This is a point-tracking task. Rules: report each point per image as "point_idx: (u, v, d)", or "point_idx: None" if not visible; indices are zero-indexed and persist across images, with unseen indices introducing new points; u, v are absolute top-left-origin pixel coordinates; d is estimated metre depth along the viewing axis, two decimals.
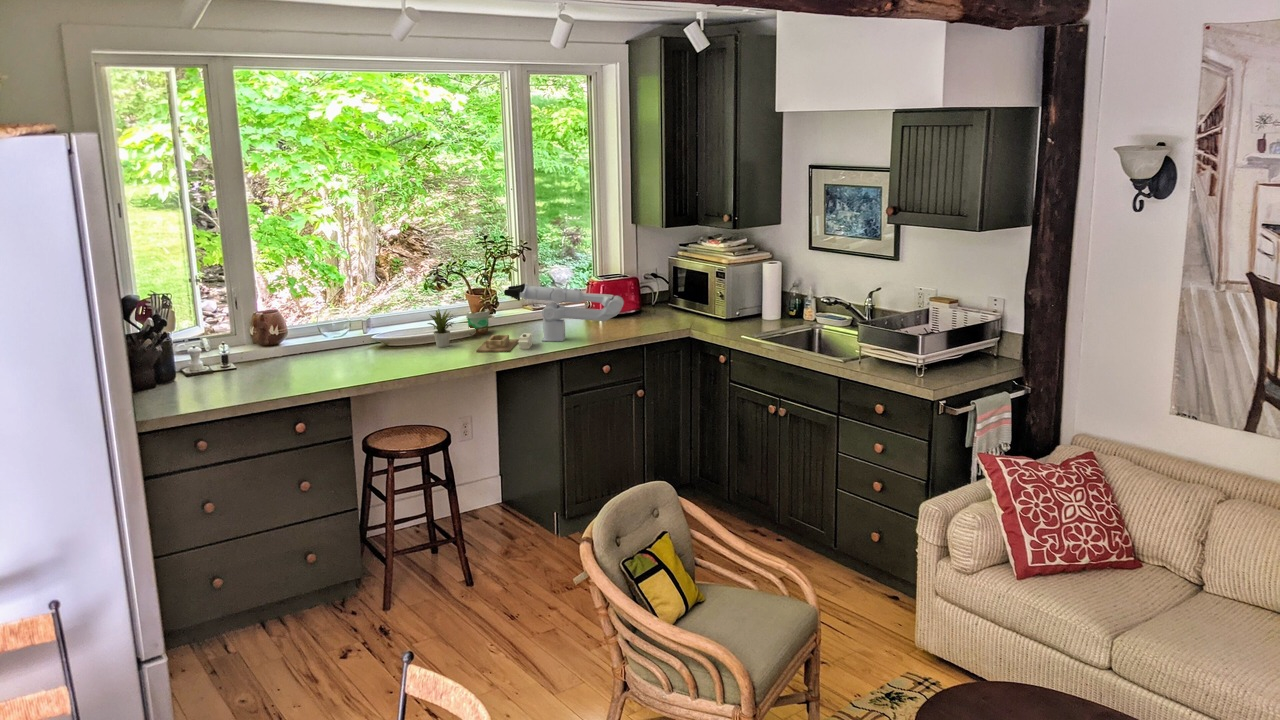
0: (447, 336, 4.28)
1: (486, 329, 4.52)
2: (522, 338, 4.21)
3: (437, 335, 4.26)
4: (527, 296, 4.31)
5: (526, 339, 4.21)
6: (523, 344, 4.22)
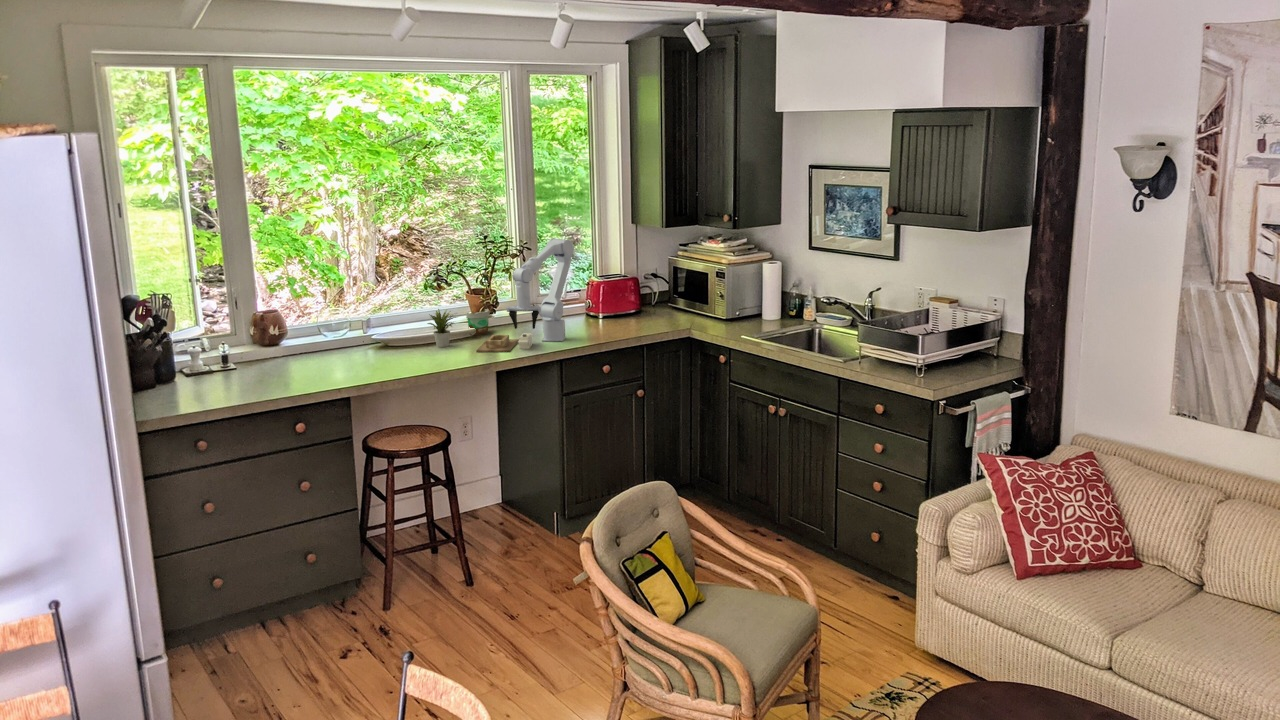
0: (447, 336, 4.28)
1: (486, 329, 4.52)
2: (522, 338, 4.21)
3: (437, 335, 4.26)
4: None
5: (526, 339, 4.21)
6: (523, 344, 4.22)
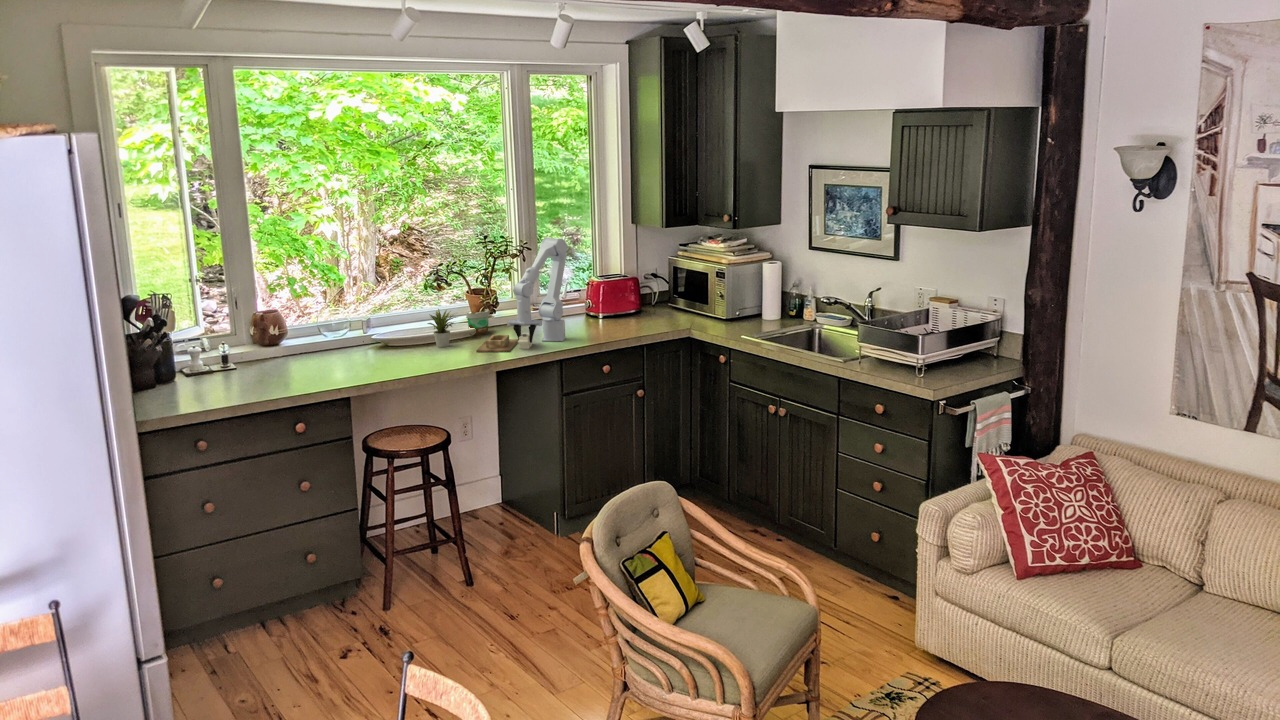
0: (447, 336, 4.28)
1: (486, 329, 4.52)
2: (522, 338, 4.21)
3: (437, 335, 4.26)
4: None
5: (526, 339, 4.21)
6: (523, 344, 4.22)
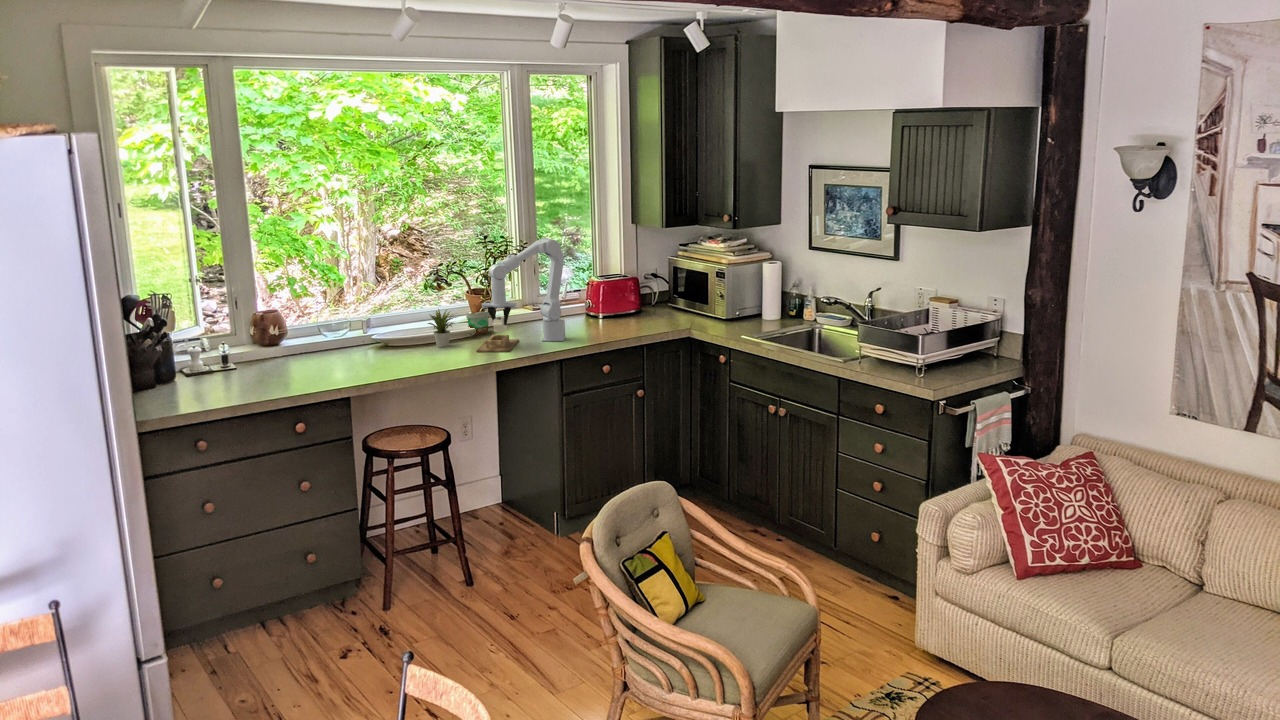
0: (447, 336, 4.28)
1: (486, 329, 4.52)
2: (496, 321, 4.20)
3: (437, 335, 4.26)
4: None
5: (500, 322, 4.20)
6: (497, 327, 4.21)
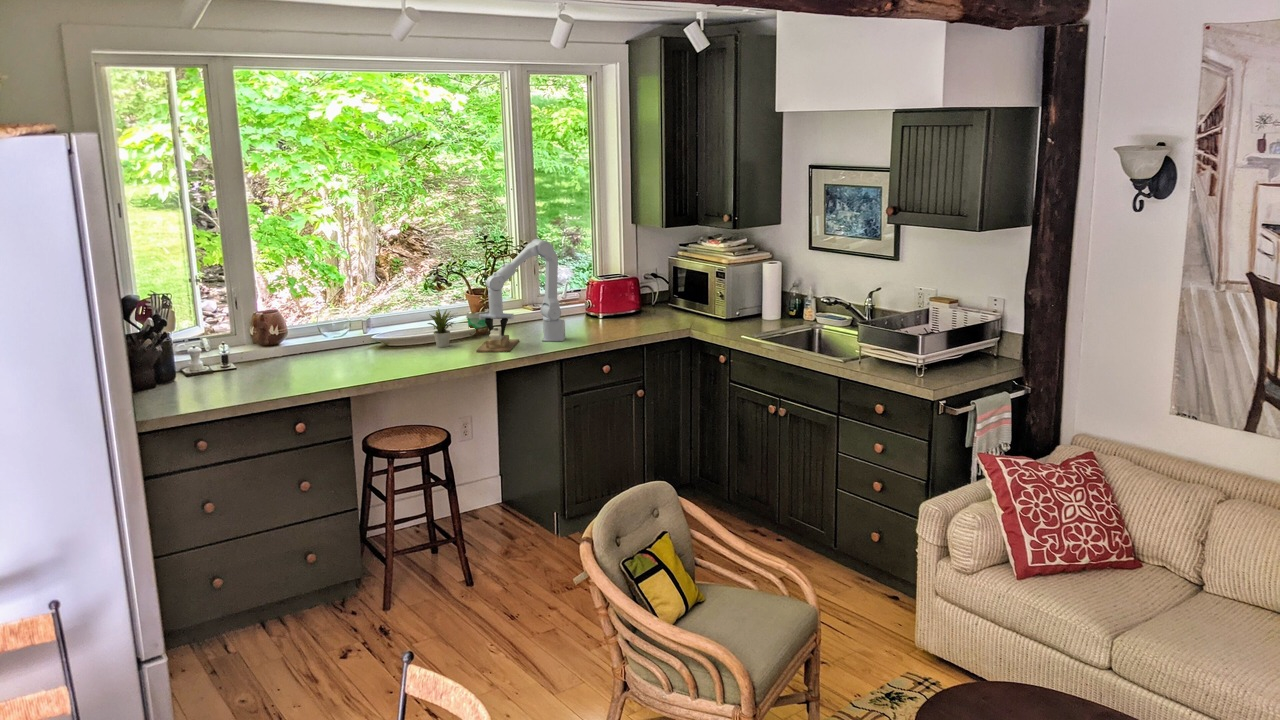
0: (447, 336, 4.28)
1: (486, 329, 4.52)
2: (493, 332, 4.21)
3: (437, 335, 4.26)
4: None
5: (497, 333, 4.21)
6: (494, 338, 4.22)
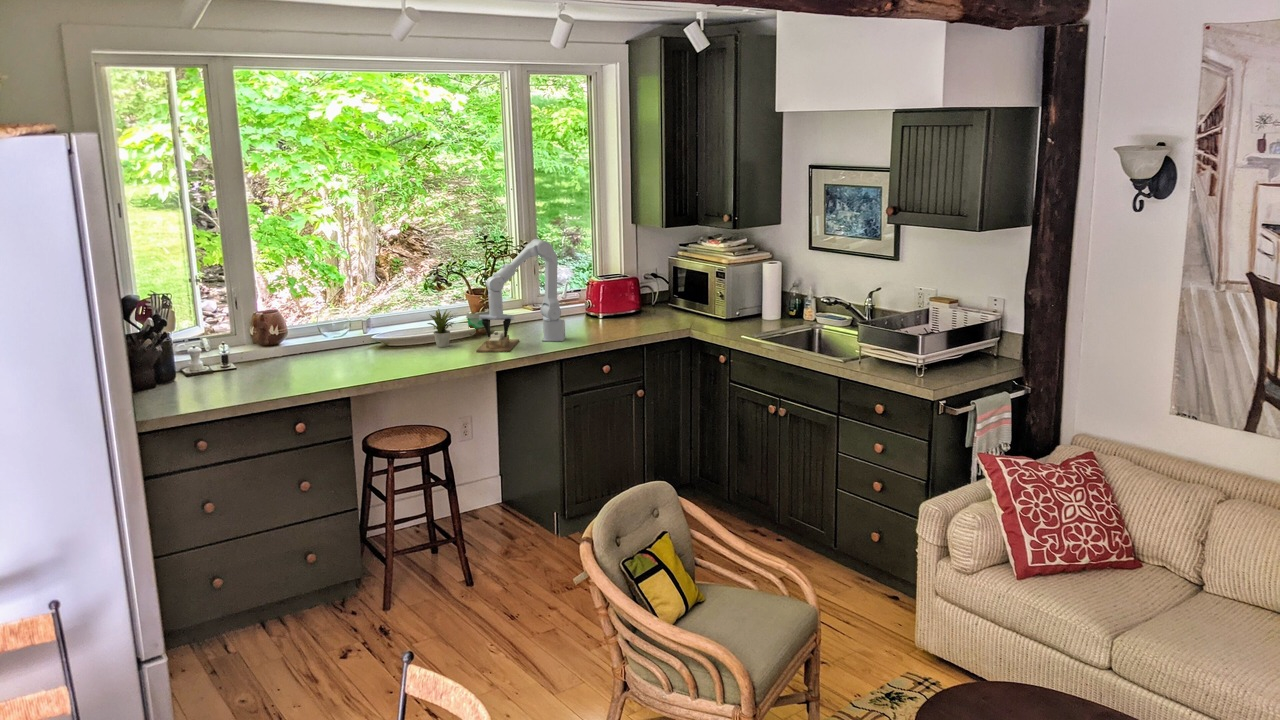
0: (447, 336, 4.28)
1: None
2: (494, 336, 4.22)
3: (437, 335, 4.26)
4: None
5: (498, 337, 4.22)
6: None
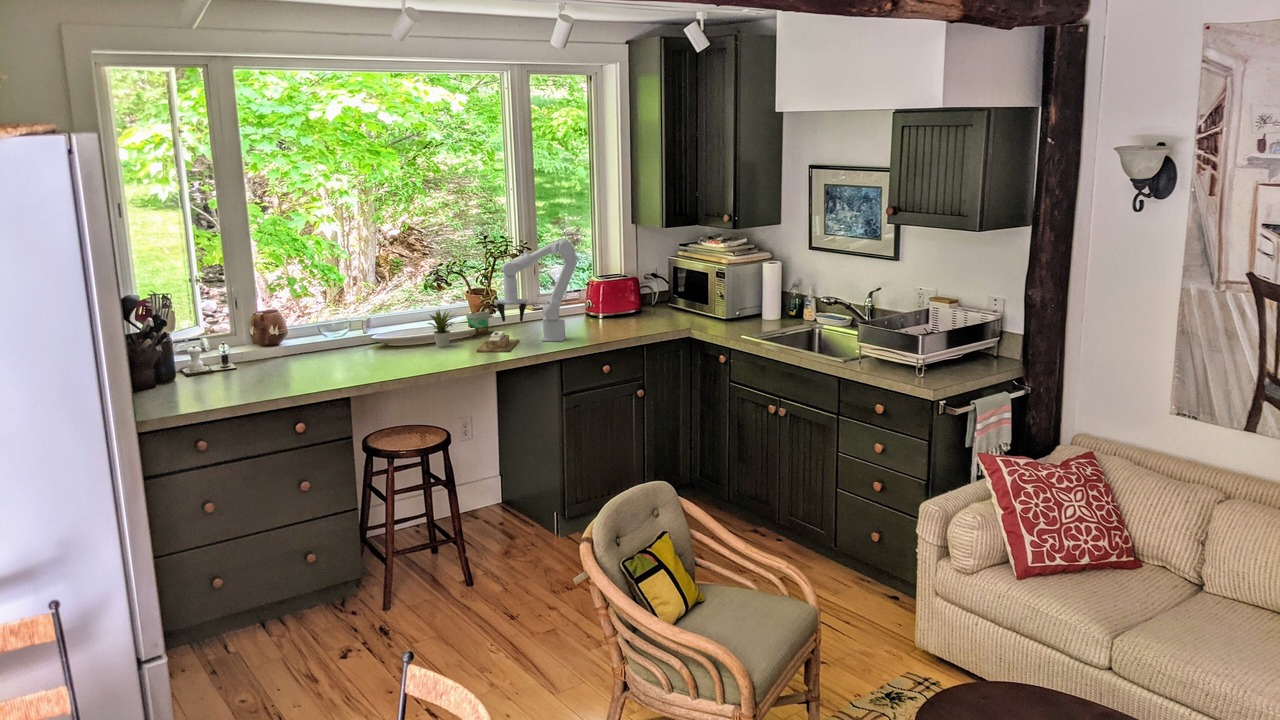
0: (447, 336, 4.28)
1: (486, 329, 4.52)
2: (494, 336, 4.22)
3: (437, 335, 4.26)
4: None
5: (498, 337, 4.22)
6: None
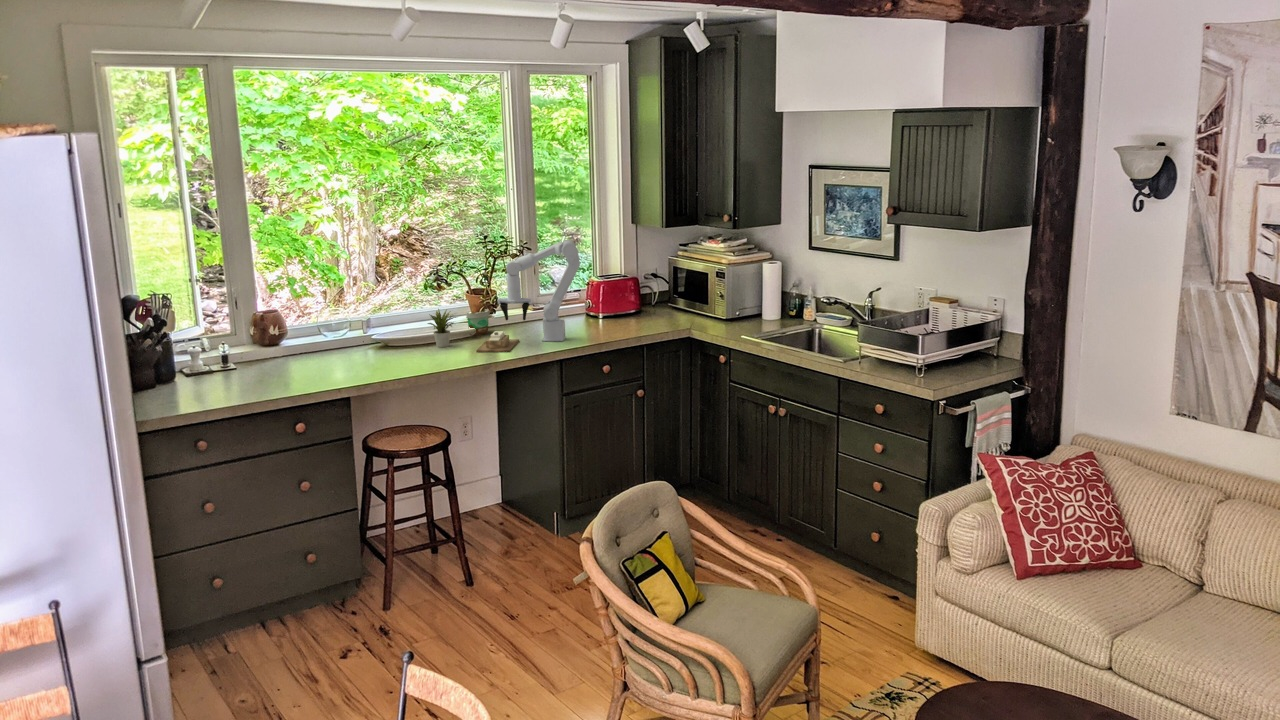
0: (447, 336, 4.28)
1: (486, 329, 4.52)
2: (494, 336, 4.22)
3: (437, 335, 4.26)
4: None
5: (498, 337, 4.22)
6: None
